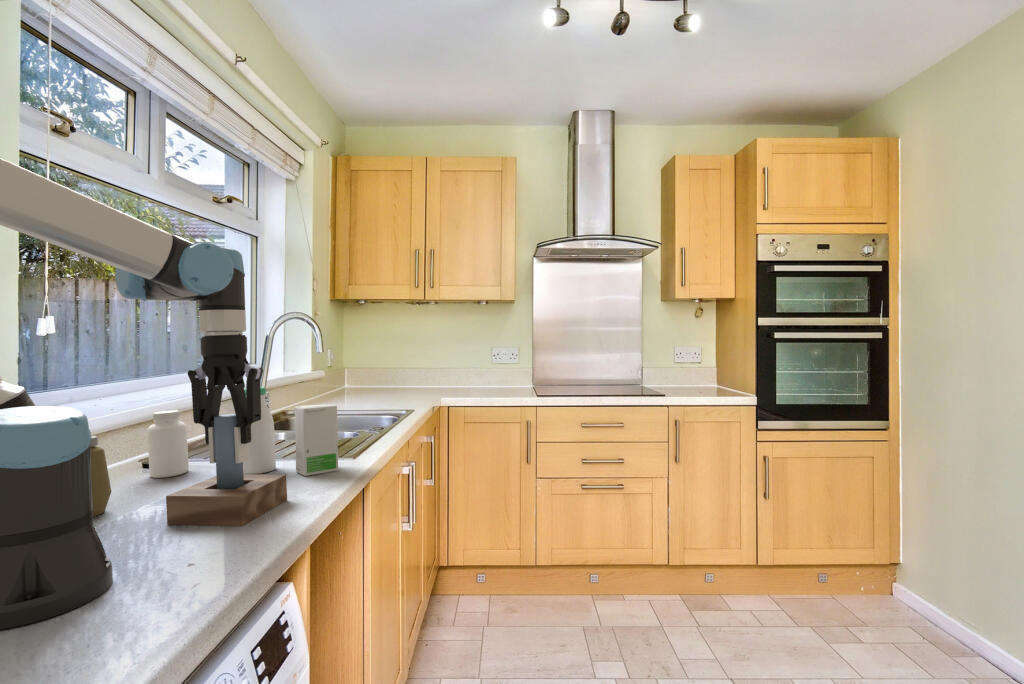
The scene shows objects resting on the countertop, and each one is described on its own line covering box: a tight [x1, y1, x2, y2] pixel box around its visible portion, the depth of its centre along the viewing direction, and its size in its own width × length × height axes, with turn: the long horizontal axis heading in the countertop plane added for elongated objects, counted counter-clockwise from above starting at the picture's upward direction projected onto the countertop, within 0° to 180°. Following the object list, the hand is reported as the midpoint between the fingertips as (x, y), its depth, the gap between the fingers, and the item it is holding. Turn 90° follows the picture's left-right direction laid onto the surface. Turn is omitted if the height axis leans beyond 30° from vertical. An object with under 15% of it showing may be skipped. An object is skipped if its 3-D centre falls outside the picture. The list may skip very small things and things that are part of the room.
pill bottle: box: [146, 409, 189, 479], centre depth 129 cm, size 8×8×15 cm
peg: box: [214, 413, 245, 489], centre depth 99 cm, size 4×4×14 cm
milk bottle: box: [243, 386, 277, 475], centre depth 129 cm, size 8×8×20 cm
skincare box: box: [294, 403, 339, 477], centre depth 128 cm, size 8×7×16 cm
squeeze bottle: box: [90, 435, 112, 517], centre depth 100 cm, size 8×8×18 cm
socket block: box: [165, 474, 288, 527], centre depth 99 cm, size 14×14×5 cm
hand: (229, 461), depth 99 cm, fingers closed on peg, 4 cm apart
